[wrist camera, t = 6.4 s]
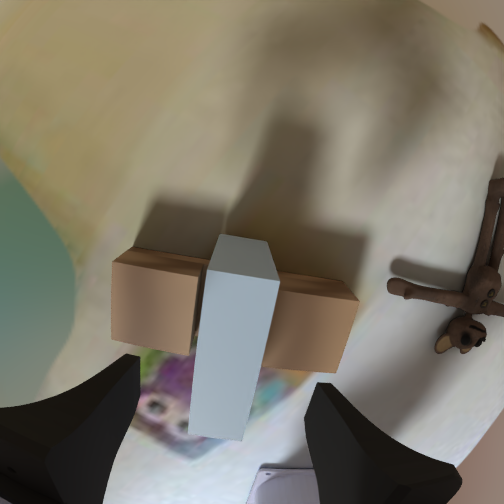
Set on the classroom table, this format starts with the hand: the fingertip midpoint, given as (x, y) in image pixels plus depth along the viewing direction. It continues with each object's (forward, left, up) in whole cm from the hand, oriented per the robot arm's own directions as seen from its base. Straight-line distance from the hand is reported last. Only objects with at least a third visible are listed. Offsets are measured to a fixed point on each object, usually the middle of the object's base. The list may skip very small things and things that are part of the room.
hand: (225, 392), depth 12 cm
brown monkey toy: (-19, -5, -10) cm, 22 cm away
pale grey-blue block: (0, 0, -8) cm, 8 cm away
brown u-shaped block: (0, 0, -9) cm, 9 cm away
